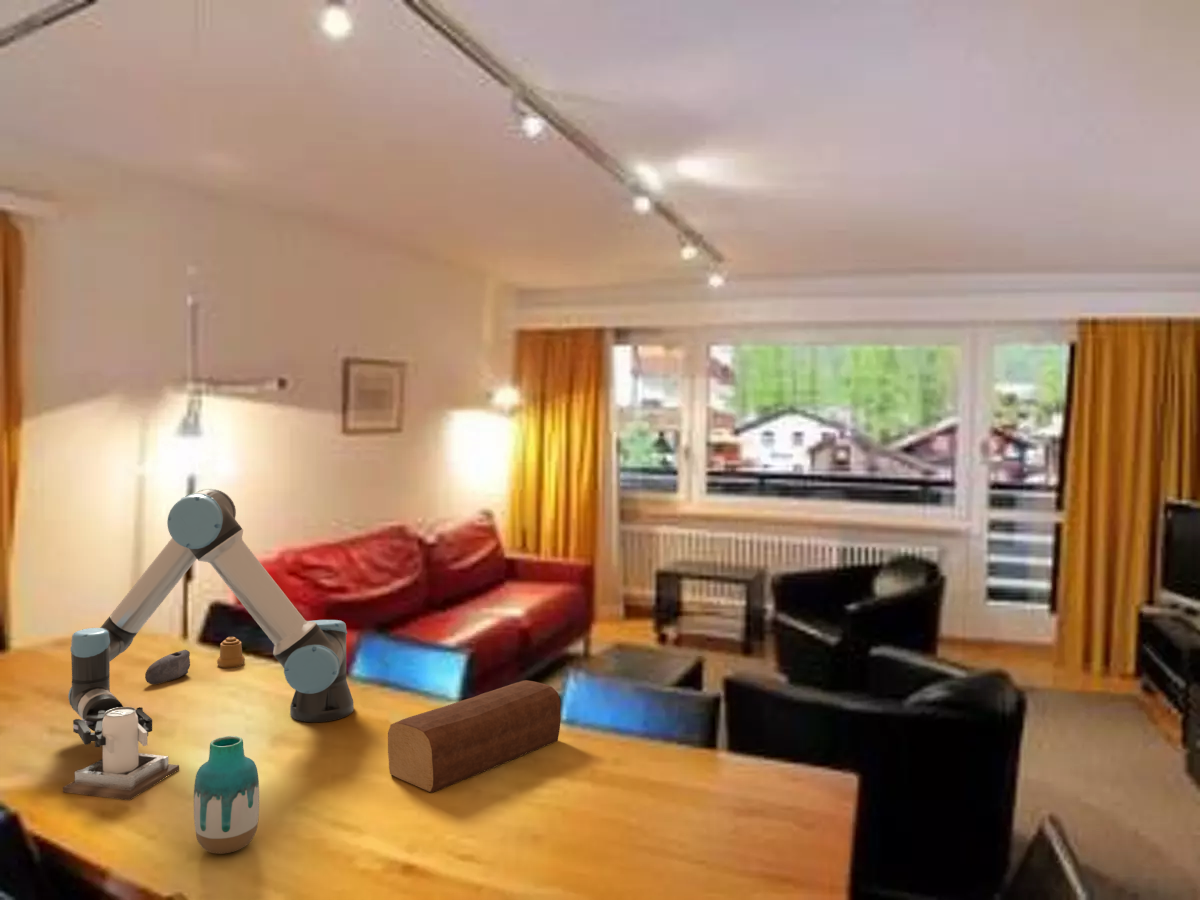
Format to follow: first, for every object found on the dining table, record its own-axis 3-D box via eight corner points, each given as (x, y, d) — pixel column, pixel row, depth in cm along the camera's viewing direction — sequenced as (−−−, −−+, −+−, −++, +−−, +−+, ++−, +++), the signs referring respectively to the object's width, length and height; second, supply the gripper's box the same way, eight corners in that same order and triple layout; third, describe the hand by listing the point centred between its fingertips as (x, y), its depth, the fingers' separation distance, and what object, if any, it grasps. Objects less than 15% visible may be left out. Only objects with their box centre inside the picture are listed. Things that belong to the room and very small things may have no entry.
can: (122, 777, 185) (121, 718, 184) (95, 773, 186) (94, 715, 185) (145, 764, 191) (145, 707, 190) (119, 761, 192) (118, 704, 192)
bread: (562, 742, 214) (563, 685, 214) (432, 797, 184) (433, 731, 184) (515, 726, 224) (515, 672, 223) (384, 775, 194) (384, 713, 194)
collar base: (179, 769, 195) (179, 765, 195) (129, 800, 180) (129, 795, 180) (116, 762, 198) (116, 758, 198) (62, 792, 183) (62, 787, 183)
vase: (206, 834, 167) (205, 730, 166) (266, 833, 168) (266, 729, 166) (184, 864, 156) (183, 753, 155) (249, 862, 157) (248, 752, 156)
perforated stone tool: (152, 689, 246) (152, 663, 246) (138, 686, 248) (137, 661, 248) (197, 674, 260) (196, 649, 260) (183, 671, 262) (182, 647, 262)
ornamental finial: (248, 665, 269) (222, 670, 264) (239, 659, 275) (213, 664, 270) (248, 638, 269) (222, 642, 264) (239, 633, 274) (213, 637, 269)
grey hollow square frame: (168, 767, 193) (168, 756, 193) (130, 790, 182) (130, 778, 182) (115, 762, 196) (115, 750, 195) (74, 784, 184) (74, 771, 184)
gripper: (146, 718, 208) (177, 750, 190) (53, 737, 196) (77, 772, 179) (146, 686, 208) (177, 714, 190) (52, 702, 196) (76, 734, 178)
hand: (128, 742), depth 184 cm, fingers closed on can, 5 cm apart
